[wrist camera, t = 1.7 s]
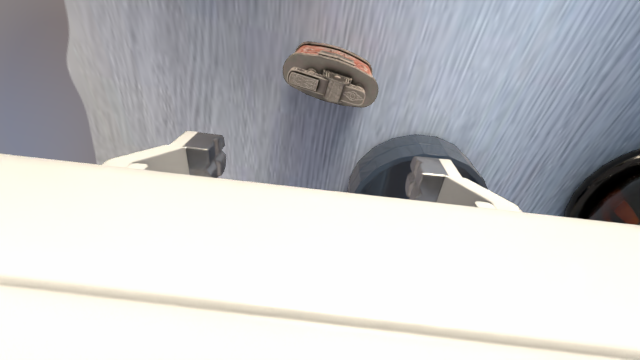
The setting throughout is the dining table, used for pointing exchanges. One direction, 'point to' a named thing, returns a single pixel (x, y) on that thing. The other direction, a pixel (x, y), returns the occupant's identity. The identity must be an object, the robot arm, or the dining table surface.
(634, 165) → the amphora vase
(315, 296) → the robot arm
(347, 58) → the lighter
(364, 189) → the bowl
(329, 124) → the dining table surface
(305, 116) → the dining table surface
